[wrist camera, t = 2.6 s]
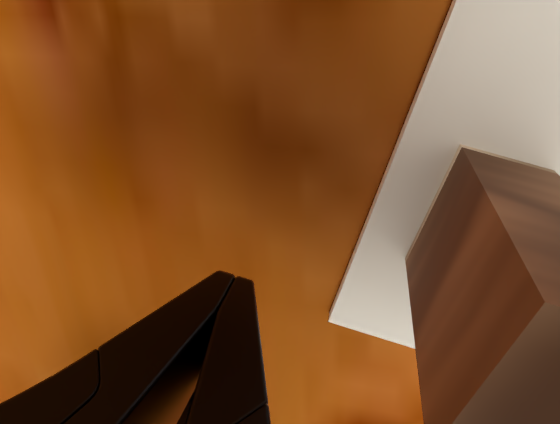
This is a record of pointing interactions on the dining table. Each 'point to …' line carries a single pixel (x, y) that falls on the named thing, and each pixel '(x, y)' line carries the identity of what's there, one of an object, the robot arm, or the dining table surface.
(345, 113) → the dining table surface
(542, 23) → the mat
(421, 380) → the walnut block
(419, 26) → the dining table surface
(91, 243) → the dining table surface
